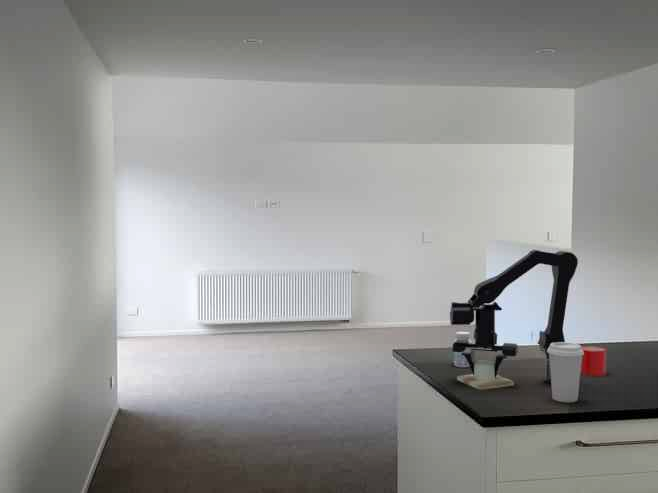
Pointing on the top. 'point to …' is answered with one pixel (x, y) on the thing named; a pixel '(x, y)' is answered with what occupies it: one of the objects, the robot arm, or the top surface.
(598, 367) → the mug
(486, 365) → the cap
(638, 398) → the top surface
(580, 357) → the coffee cup
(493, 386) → the holder
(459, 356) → the pill bottle
